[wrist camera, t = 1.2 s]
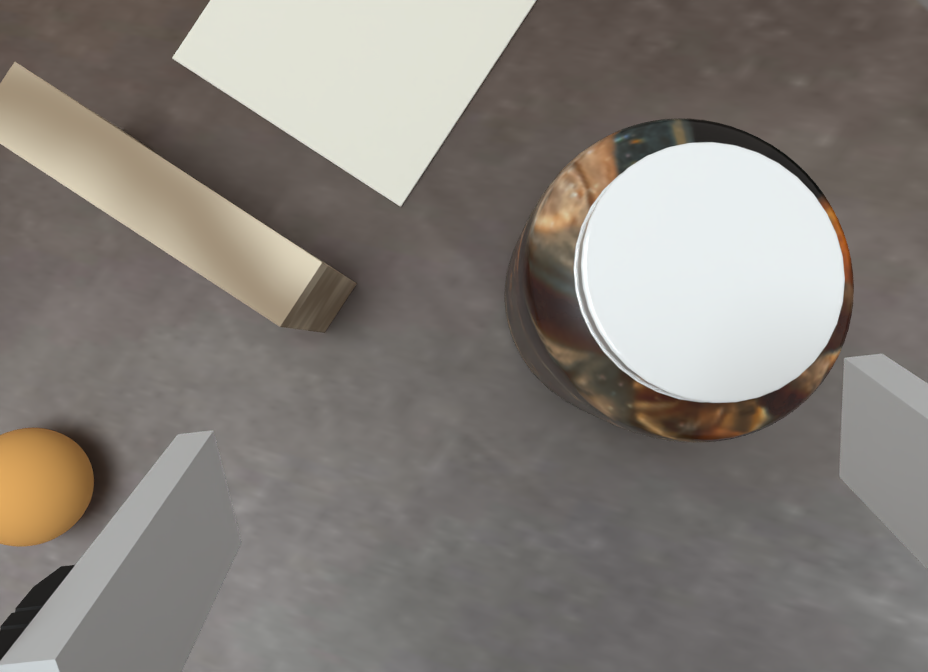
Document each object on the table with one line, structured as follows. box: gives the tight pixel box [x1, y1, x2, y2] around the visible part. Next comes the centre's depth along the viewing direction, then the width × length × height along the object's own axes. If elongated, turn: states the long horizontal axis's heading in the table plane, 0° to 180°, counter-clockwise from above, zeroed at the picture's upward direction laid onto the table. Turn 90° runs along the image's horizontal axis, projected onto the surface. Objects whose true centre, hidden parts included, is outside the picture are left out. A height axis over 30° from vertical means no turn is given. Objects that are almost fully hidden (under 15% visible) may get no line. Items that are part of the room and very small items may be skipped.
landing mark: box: [173, 0, 537, 207], centre depth 39 cm, size 14×14×1 cm
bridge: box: [0, 62, 357, 333], centre depth 34 cm, size 3×14×9 cm, turn 57°
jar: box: [505, 119, 854, 443], centre depth 31 cm, size 12×12×15 cm
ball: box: [0, 428, 94, 546], centre depth 36 cm, size 6×6×6 cm
